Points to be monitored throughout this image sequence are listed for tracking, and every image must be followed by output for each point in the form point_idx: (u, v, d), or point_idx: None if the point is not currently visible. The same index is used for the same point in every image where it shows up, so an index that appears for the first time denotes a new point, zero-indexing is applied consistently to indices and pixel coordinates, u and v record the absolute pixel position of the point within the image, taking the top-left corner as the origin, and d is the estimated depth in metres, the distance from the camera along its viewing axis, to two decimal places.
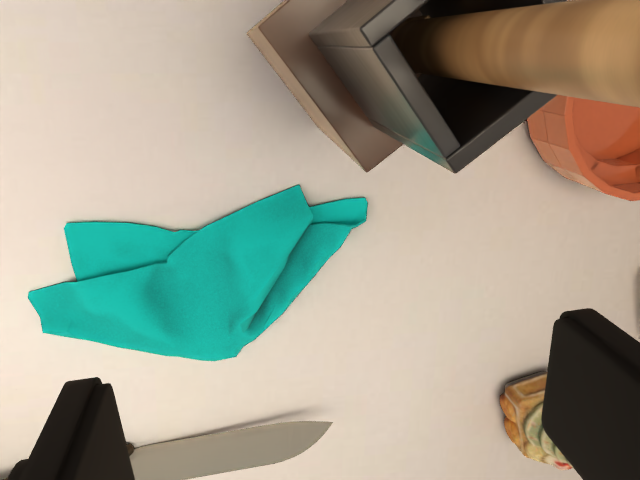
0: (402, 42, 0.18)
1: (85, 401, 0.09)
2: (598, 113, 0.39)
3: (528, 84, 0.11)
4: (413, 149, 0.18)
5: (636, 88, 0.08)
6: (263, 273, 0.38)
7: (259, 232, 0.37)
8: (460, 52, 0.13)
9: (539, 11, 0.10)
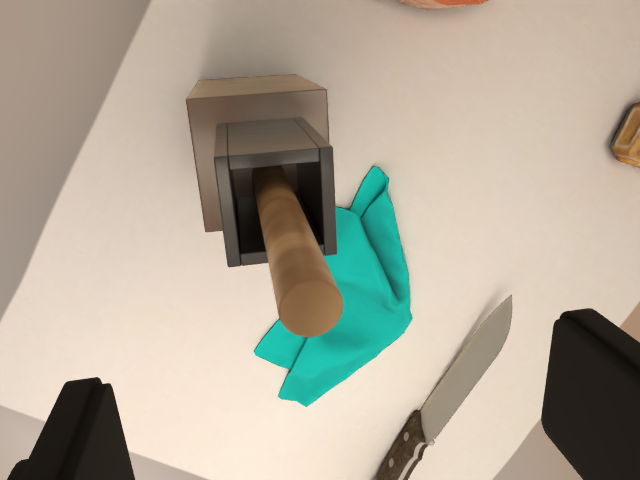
0: None
1: (85, 401, 0.09)
2: None
3: None
4: None
5: None
6: (369, 270, 0.48)
7: (340, 254, 0.47)
8: None
9: None
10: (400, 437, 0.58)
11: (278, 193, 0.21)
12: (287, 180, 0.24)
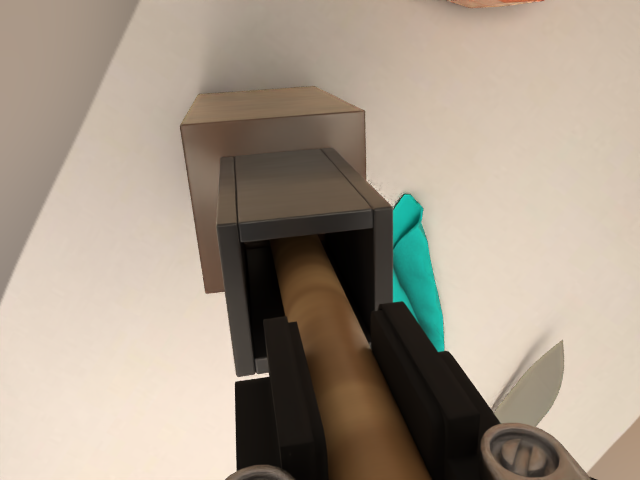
0: None
1: (288, 332, 0.10)
2: None
3: None
4: None
5: None
6: None
7: None
8: None
9: None
10: None
11: (312, 277, 0.14)
12: (320, 245, 0.17)
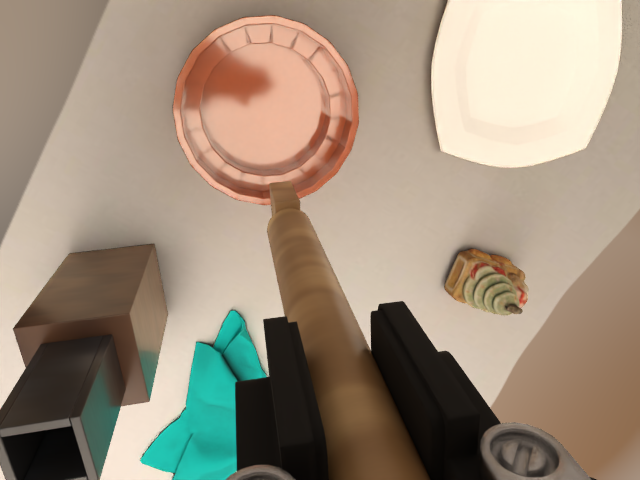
0: None
1: (288, 332, 0.10)
2: (275, 132, 0.47)
3: None
4: (110, 440, 0.34)
5: None
6: (232, 395, 0.55)
7: (206, 384, 0.55)
8: None
9: None
10: None
11: (312, 278, 0.14)
12: (320, 246, 0.17)
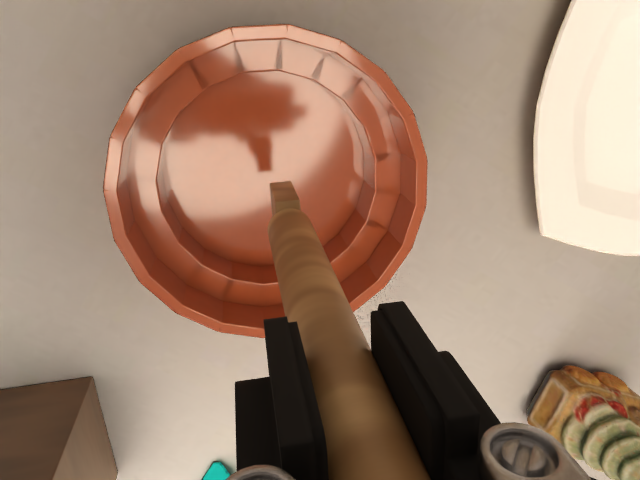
0: None
1: (288, 332, 0.10)
2: None
3: None
4: None
5: None
6: None
7: None
8: None
9: None
10: None
11: (313, 278, 0.14)
12: (320, 246, 0.17)
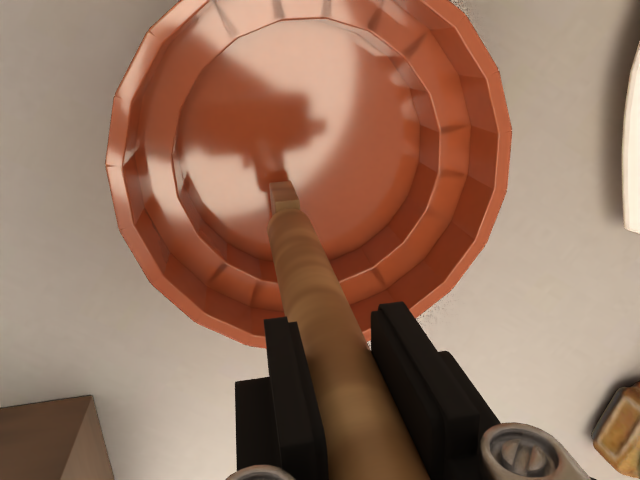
0: None
1: (288, 332, 0.10)
2: (323, 197, 0.25)
3: None
4: None
5: None
6: None
7: None
8: None
9: None
10: None
11: (312, 278, 0.14)
12: (320, 246, 0.17)
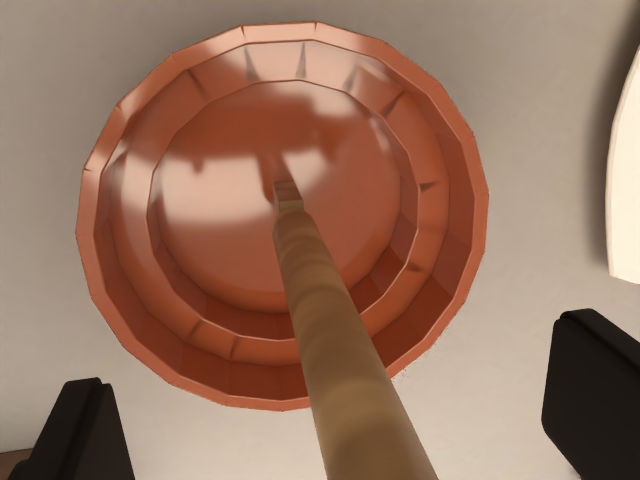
0: None
1: (85, 401, 0.09)
2: None
3: None
4: None
5: None
6: None
7: None
8: None
9: (301, 364, 0.12)
10: None
11: (317, 277, 0.14)
12: (324, 245, 0.17)
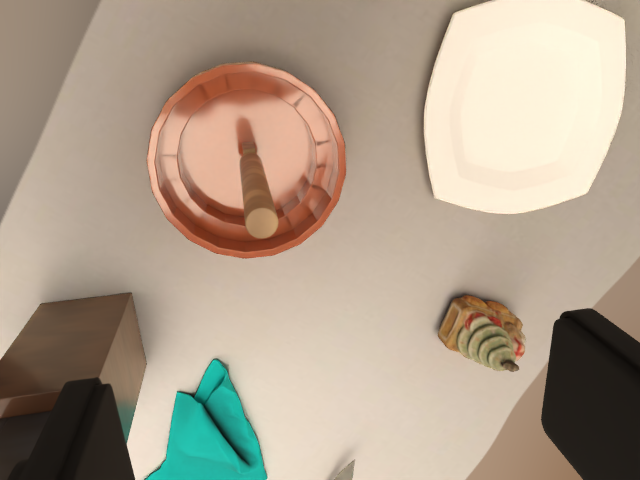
0: None
1: (85, 401, 0.09)
2: None
3: None
4: None
5: None
6: (215, 447, 0.53)
7: (187, 436, 0.52)
8: None
9: None
10: None
11: (252, 171, 0.35)
12: (261, 165, 0.38)
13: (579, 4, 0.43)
